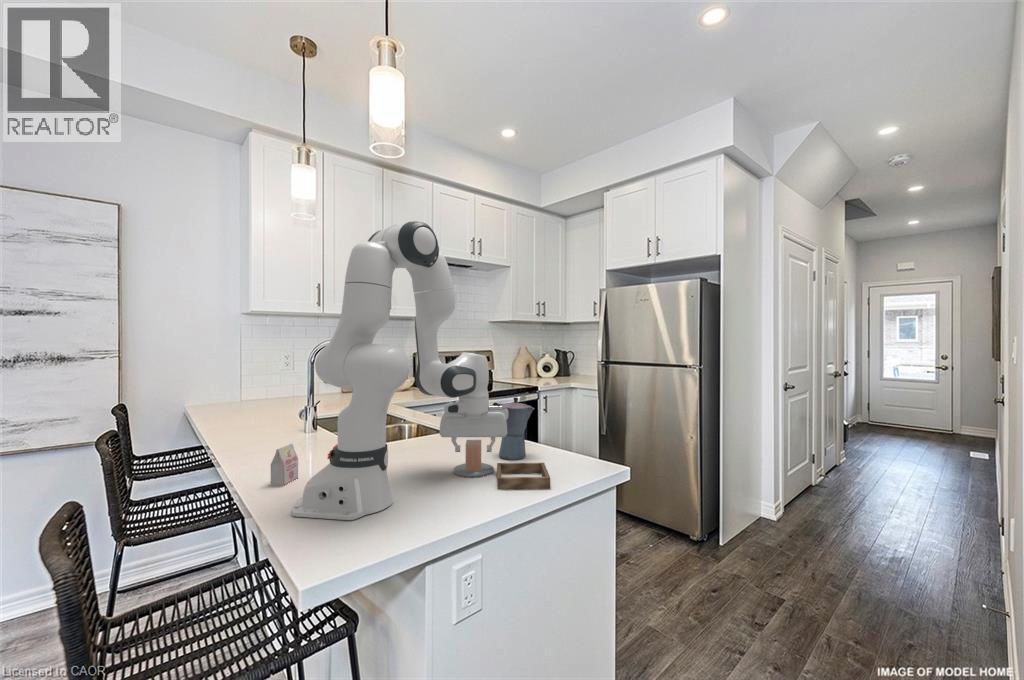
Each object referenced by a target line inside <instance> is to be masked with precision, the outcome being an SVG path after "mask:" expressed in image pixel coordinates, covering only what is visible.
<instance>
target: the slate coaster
mask: <svg viewBox="0 0 1024 680" xmlns="http://www.w3.org/2000/svg"><path fill="white" fill-rule="evenodd" d="M494 470H495V468H494V466H493V465H492V464H489V463H485V462H481V472H466V462H465V463H460V464H459V465H456V466H454V467H453V474H454V475H456V476H458V477H460V478H461V477H462V478H467V477H470V478H471V479H472V478H473V479H475V478H474V477H477V478H484V477H487V475H488V476H490V475H492V474H493V473H494V472H495V471H494ZM483 476H484V477H483Z"/></svg>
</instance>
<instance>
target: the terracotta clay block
mask: <svg viewBox="0 0 1024 680" xmlns="http://www.w3.org/2000/svg"><path fill="white" fill-rule="evenodd" d="M465 463H466V472H481V463H482V439H466V441H465Z"/></svg>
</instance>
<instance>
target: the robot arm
mask: <svg viewBox="0 0 1024 680" xmlns="http://www.w3.org/2000/svg"><path fill="white" fill-rule="evenodd" d="M396 269H406V271H407V272H408V274H409V276H410V278H411V283H412V285H411V286H412V290H413V296H414V297H413V298H414V304H415V318H414V332H415V334H414V335H415V344H416V346H415V347H416V355H417V356H416V357H417V366H416V372H415V384H416V388H417V389H418V390H419V391H420V392H421V393H422V394H424V395H426V396H432V397H433V396H438V397H443V398H449V399H452V398H453V399H455V398H458V399H457V400H453V401H449V402H447V403H445V404H444V407H443V412H444V413H443V414H442V416H441V419H440V423H439V436H440V437H441V438H451V443H452V444H453V446H454V452H455V453H461V444H458V443H457V438H490V441H491V442H490V443H489V444H487V445H486V453H492V450H493V446H494V444H495V443H496V438H502V437H505V436H506V435H507V423H506V420H507V419H508V409H507V408H505V407H503V406H492V405H489V403H490V402H489V398H490V397H489V395H490V394H489V390H488V386H489V381H490V380H489V379H490V377H489V376H490V375H489V372H490V371H489V361H488V358H487V356H486V355H485V354H483V353H480V352H475V351H462V352H461V354H460V355H459V356H458V357H457V358H455V359H453V360H452V361H448V363H443V362H442V361H441V360H440V357H439V346H438V345H439V344H438V332H439V329H440V327H441V326H442V324H444V322H445V321H447V320H448V319H449V318H450V317H451V316H452V315H453V313H454V312H455V309H456V295H455V289H454V284H453V278H452V275H451V271H450V267H449V264H448V261H447V259H446V257H445V255H444V254H443V253H442V252H441V251H440V247H439V242H438V237H437V235H436V234H435V232H434V230H433V228H432V227H431V226H430V225H429V224H428V223H426V222H423V221H417V220H415V221H412V220H411V221H408V222H407V221H406V223H400V224H393V225H391V226H387V227H386V228H383V229H380V230H378V231H377V230H376V232H374V233H373V234H372V235H371V236H370V237H369V238H368V240H367V241H363V242H359V243H357V244H356V245H355V246H353V248H352V249H351V252H350V256H349V258H348V263H347V267H346V270H345V271H346V273H345V276H344V277H345V279H344V285H343V286H344V287H343V296H342V305H341V313H340V317H339V321H338V324H337V326H336V329H335V331H334V333H333V335H332V337H331V339H330V341H329V342H328V343H327V345H326V346H325V347H323V348H322V349H321V350H320V351H319V352H318V354H317V356H316V359H315V363H314V369H315V373H316V375H317V377H318V378H319V379H320V380H321V382H324V383H326V384H329V385H331V386H334V387H336V388H343V389H344V388H345V389H352V396H351V398H350V402H349V404H348V406H346V407H345V408H344V409H342V410H341V411H340V413H339V414H338V416H337V444H335V445H334V446H333V447H332V449H331V450H330V451H329V453H327V457H326V458H327V460H329V463H328V464H326V466H324V467H323V468H322V469H321V470H319V471H318V472H317V473H316V474H314V475H313V476H312V477H311V478H310V479H309V480H307V482H306V484H305V486H304V490H303V494H302V497H301V498H299V500H296V502H295V503H294V504H293V505H292V508H291V516H292V517H298V518H313V519H329V520H339V521H341V520H342V521H354V520H357V519H359V518H362V517H364V516H367V515H371V514H374V513H378V512H380V511H383V510H385V509H387V508H389V507H390V506H391V505H392V504H393V502H394V500H393V497H392V493H391V489H390V485H389V480H388V479H389V478H388V464H389V450H388V449H389V448H388V444H387V443H386V438H387V437H386V436H387V435H386V434H387V414H388V410H389V407H390V403H391V401H392V399H393V397H394V395H395V393H396V392H397V391H398V390H399V388H401V387H402V386H403V385H405V383H406V382H407V379H408V378H409V374H410V369H411V363H410V359H409V357H408V355H407V353H406V351H404V350H402V349H401V348H400V347H399V348H398V347H396V346H392V345H389V344H385V343H373V342H374V339H375V337H376V335H377V333H378V332H379V331H380V329H382V328H383V327H384V326H385V325H387V323H388V322H389V320H390V316H391V315H390V314H391V305H392V304H391V303H392V291H393V290H392V289H393V275H394V272H395V270H396ZM503 408H504V409H503Z"/></svg>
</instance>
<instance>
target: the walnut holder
mask: <svg viewBox="0 0 1024 680" xmlns="http://www.w3.org/2000/svg"><path fill="white" fill-rule="evenodd" d="M520 473H541V476H503V477H502V475H521V474H520ZM496 478H497V479H496V480H497V481H496V482H497V490H498V489H514V490H551V477H550V474H549V471H548V469H547V466H546V464H545V462H497V464H496Z"/></svg>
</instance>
